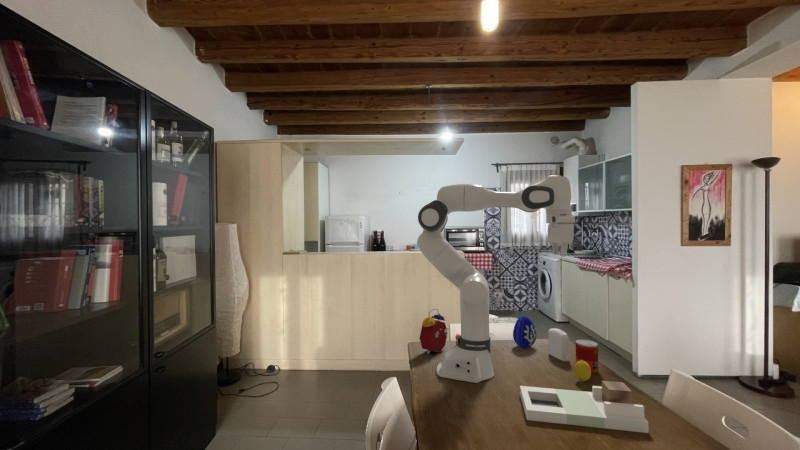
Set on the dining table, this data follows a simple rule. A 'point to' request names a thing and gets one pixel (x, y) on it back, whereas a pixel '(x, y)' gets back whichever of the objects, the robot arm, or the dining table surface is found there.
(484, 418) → the dining table surface
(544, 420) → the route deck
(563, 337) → the white rounded block
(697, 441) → the dining table surface
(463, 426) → the dining table surface
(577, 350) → the canned food
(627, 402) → the walnut block
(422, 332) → the alarm clock
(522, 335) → the ornament
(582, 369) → the lemon
